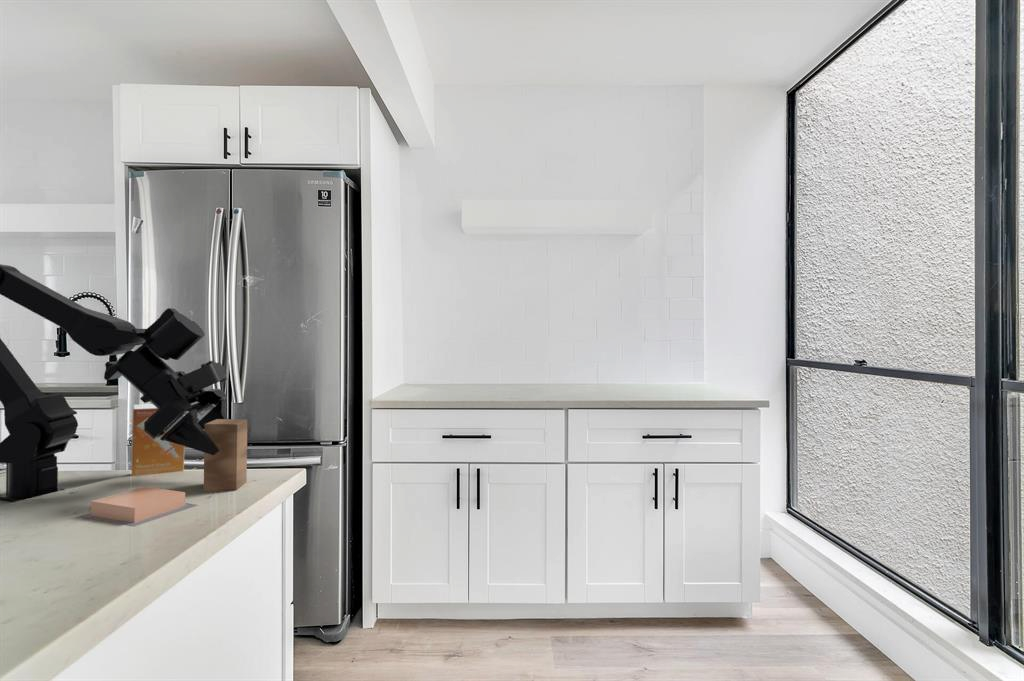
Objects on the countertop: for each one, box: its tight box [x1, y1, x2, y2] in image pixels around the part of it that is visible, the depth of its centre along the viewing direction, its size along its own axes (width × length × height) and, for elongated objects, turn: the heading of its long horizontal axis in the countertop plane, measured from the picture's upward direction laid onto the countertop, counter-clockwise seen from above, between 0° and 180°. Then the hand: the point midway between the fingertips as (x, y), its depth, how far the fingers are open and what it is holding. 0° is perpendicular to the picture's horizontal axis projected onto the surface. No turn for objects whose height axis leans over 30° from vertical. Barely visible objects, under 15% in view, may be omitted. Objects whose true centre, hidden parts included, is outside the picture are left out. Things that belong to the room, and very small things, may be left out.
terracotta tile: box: [90, 486, 186, 523], centre depth 82 cm, size 8×8×2 cm
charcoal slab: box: [81, 502, 199, 527], centre depth 82 cm, size 10×10×2 cm
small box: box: [131, 403, 185, 477], centre depth 105 cm, size 8×6×13 cm
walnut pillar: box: [203, 418, 248, 492], centre depth 95 cm, size 5×5×12 cm
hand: (227, 447), depth 95 cm, fingers open, 9 cm apart
